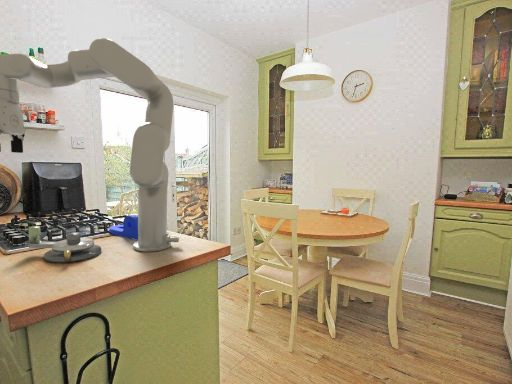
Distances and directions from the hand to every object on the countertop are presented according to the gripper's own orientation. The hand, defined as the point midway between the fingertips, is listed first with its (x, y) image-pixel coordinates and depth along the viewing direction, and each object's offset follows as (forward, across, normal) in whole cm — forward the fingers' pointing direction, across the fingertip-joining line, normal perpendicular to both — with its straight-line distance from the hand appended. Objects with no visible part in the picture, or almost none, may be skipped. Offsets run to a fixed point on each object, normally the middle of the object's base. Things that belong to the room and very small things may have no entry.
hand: (6, 152), depth 86 cm
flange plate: (+29, -8, -19) cm, 35 cm away
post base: (+31, -8, -23) cm, 39 cm away
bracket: (+31, +16, -32) cm, 48 cm away
